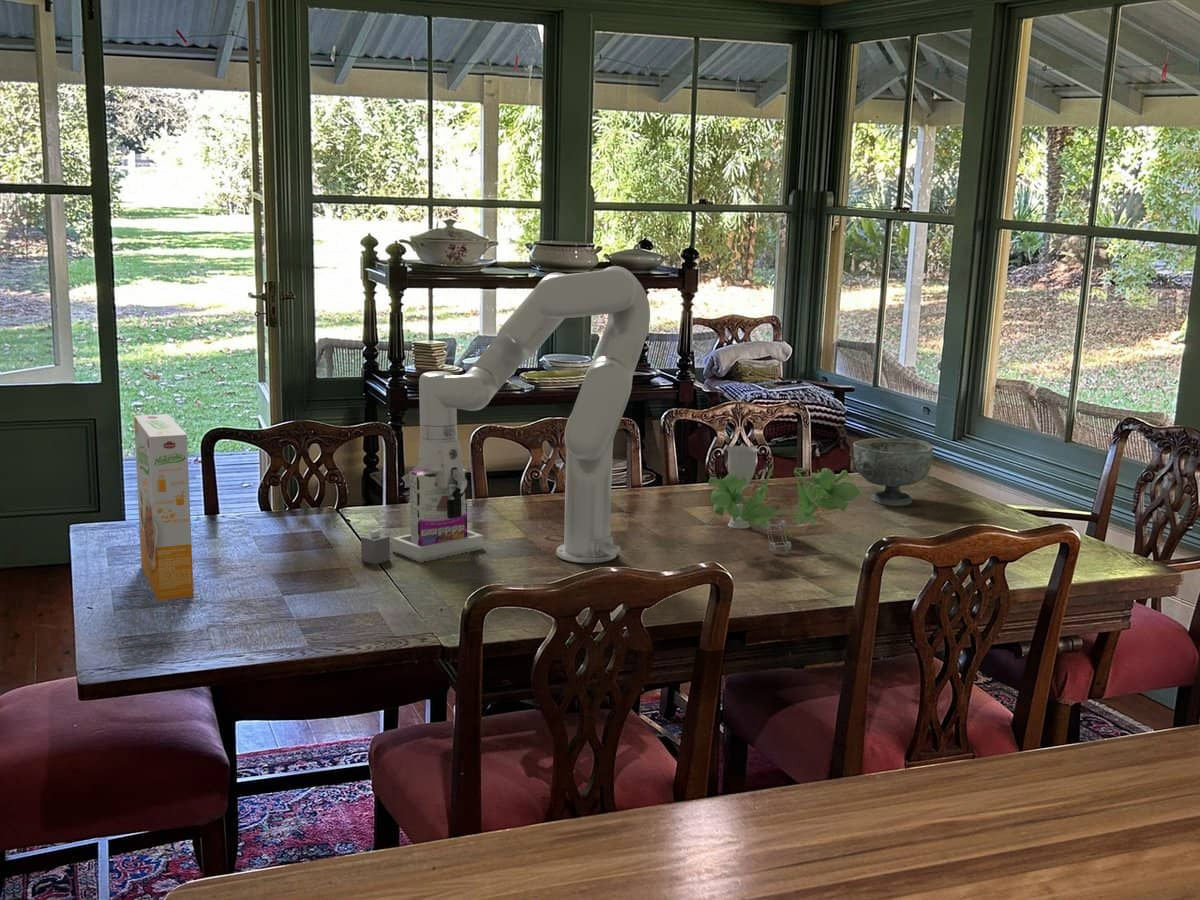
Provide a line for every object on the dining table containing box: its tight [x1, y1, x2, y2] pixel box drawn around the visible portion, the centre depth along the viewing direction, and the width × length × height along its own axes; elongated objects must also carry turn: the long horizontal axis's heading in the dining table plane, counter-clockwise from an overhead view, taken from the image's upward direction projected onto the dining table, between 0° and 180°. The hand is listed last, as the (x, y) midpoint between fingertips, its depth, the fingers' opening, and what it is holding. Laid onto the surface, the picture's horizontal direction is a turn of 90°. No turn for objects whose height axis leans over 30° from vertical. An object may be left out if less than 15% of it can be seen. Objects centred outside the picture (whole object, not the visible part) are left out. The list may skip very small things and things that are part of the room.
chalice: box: [726, 445, 759, 529], centre depth 280 cm, size 7×7×18 cm
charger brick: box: [360, 529, 391, 565], centre depth 247 cm, size 4×4×6 cm
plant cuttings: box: [699, 467, 861, 554], centre depth 264 cm, size 35×17×22 cm
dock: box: [391, 529, 484, 563], centre depth 256 cm, size 10×16×3 cm, turn 133°
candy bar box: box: [409, 468, 468, 546], centre depth 254 cm, size 11×5×16 cm, turn 121°
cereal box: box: [133, 413, 195, 601], centre depth 229 cm, size 22×6×30 cm, turn 27°
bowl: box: [852, 437, 934, 507], centre depth 308 cm, size 20×19×15 cm
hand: (440, 513), depth 255 cm, fingers open, 9 cm apart
